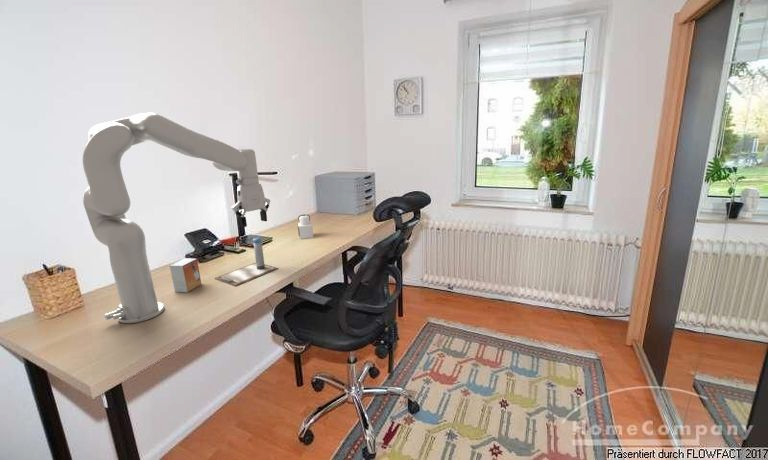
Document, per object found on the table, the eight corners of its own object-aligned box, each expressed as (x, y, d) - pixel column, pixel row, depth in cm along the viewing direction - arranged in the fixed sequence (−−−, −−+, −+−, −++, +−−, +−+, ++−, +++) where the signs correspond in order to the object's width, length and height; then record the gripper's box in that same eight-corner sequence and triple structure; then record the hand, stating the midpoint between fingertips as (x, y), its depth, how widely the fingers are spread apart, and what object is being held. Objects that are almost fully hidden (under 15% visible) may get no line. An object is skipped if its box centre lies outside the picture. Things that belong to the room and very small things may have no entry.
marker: (260, 270, 151) (256, 240, 148) (255, 268, 153) (251, 239, 149) (266, 267, 154) (262, 238, 150) (261, 266, 155) (257, 237, 152)
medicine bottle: (298, 235, 199) (296, 214, 196) (311, 234, 201) (309, 213, 198) (299, 239, 193) (297, 217, 190) (313, 237, 195) (311, 216, 192)
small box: (187, 292, 134) (182, 266, 131) (174, 292, 135) (168, 265, 132) (202, 283, 141) (197, 258, 138) (189, 283, 142) (184, 257, 139)
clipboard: (235, 286, 137) (235, 283, 137) (214, 278, 145) (214, 276, 145) (277, 268, 153) (277, 266, 153) (257, 262, 161) (256, 260, 161)
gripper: (234, 185, 134) (241, 229, 139) (272, 179, 148) (277, 220, 153) (222, 184, 138) (229, 227, 143) (260, 178, 152) (265, 218, 157)
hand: (254, 223), depth 148 cm, fingers open, 9 cm apart
